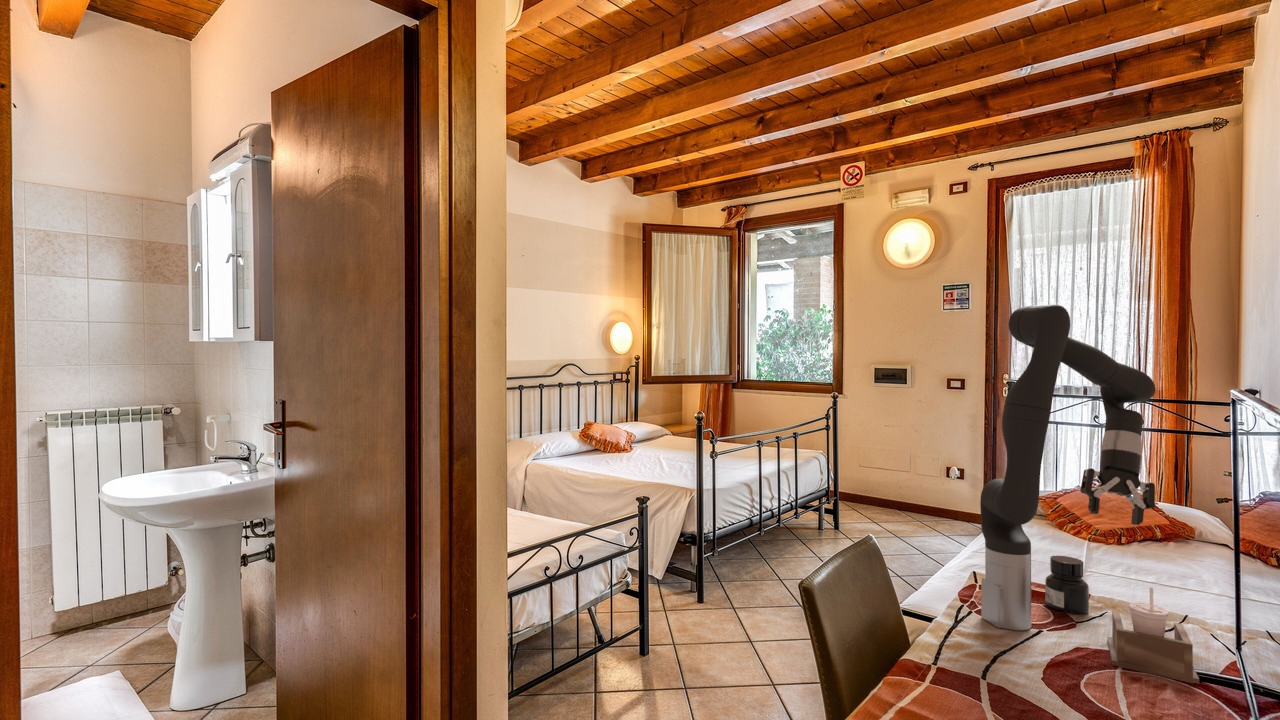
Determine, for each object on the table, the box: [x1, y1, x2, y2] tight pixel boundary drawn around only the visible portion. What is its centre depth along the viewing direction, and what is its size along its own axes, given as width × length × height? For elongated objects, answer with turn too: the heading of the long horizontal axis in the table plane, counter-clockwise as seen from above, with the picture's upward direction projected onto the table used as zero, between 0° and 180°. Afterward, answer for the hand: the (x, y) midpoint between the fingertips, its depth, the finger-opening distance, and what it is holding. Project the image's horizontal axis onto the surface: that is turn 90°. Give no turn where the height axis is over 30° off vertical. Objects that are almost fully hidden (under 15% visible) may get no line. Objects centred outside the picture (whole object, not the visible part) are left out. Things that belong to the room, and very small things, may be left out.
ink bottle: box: [1044, 555, 1090, 615], centre depth 150 cm, size 10×9×12 cm
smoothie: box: [1128, 587, 1170, 637], centre depth 123 cm, size 6×6×14 cm
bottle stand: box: [1107, 610, 1200, 685], centre depth 123 cm, size 13×13×7 cm
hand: (1114, 519), depth 141 cm, fingers open, 8 cm apart
